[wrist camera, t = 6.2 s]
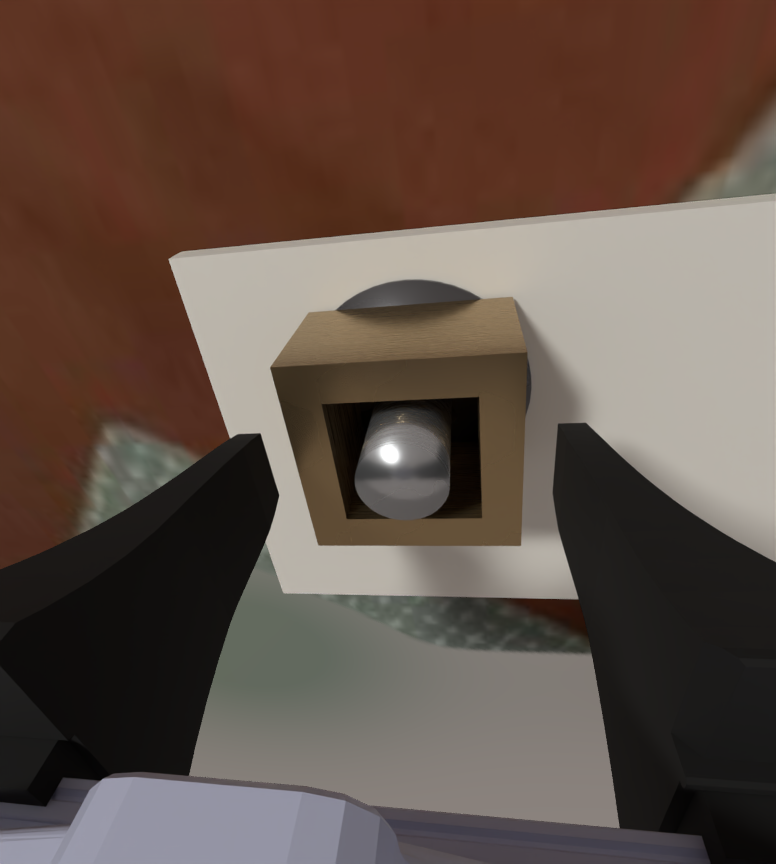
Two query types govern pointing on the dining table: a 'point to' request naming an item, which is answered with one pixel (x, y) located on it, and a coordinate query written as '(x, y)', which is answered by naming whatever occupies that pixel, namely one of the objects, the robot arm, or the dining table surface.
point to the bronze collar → (408, 380)
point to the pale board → (532, 370)
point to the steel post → (412, 423)
